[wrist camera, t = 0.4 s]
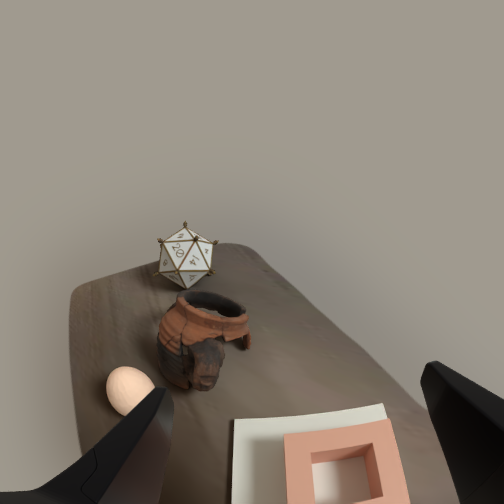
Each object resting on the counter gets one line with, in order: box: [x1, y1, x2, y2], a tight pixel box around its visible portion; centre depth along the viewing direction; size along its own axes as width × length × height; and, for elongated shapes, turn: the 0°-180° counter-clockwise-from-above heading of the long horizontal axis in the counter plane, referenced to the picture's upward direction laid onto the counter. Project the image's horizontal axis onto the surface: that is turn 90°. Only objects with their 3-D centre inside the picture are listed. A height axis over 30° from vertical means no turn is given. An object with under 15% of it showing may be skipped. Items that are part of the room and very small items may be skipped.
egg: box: [106, 367, 155, 416], centre depth 23 cm, size 4×4×6 cm
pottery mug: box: [157, 289, 251, 391], centre depth 28 cm, size 12×9×8 cm
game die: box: [153, 221, 218, 290], centre depth 39 cm, size 9×8×10 cm
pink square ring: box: [284, 418, 410, 504], centre depth 16 cm, size 8×8×3 cm
